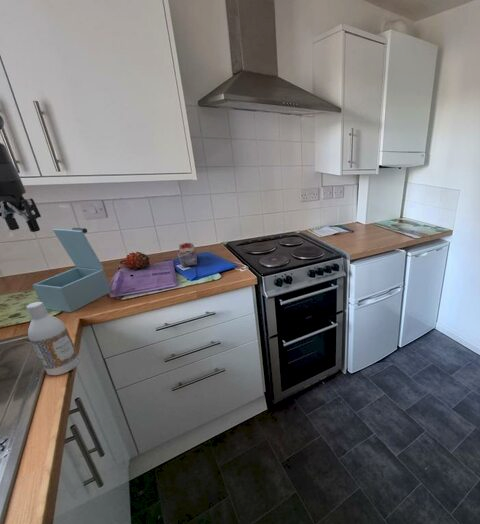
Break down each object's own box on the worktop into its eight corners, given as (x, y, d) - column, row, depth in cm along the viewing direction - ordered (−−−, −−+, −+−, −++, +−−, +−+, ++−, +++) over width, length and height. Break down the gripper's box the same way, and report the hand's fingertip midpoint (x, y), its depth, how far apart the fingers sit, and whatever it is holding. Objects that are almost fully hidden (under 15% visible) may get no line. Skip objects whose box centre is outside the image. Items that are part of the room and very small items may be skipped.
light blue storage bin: (71, 312, 107) (60, 288, 103) (43, 308, 109) (32, 284, 105) (111, 291, 121) (103, 269, 117) (85, 288, 123) (77, 267, 119)
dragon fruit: (154, 269, 144) (126, 276, 141) (153, 255, 148) (126, 261, 145) (145, 261, 136) (115, 267, 134) (144, 246, 140) (116, 252, 138)
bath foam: (60, 378, 78) (28, 313, 70) (40, 373, 80) (6, 310, 72) (87, 360, 84) (60, 299, 77) (68, 356, 86) (39, 295, 78)
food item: (199, 265, 145) (195, 246, 141) (181, 269, 141) (176, 249, 137) (196, 256, 156) (192, 238, 152) (179, 259, 152) (174, 241, 148)
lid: (80, 231, 108) (92, 225, 112) (52, 229, 110) (65, 223, 114) (102, 269, 117) (112, 262, 121) (75, 266, 119) (87, 259, 123)
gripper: (-33, 179, 88) (-7, 232, 94) (5, 181, 85) (29, 235, 92) (-1, 176, 95) (21, 225, 101) (35, 178, 92) (55, 228, 99)
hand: (25, 230), depth 97 cm, fingers open, 8 cm apart
